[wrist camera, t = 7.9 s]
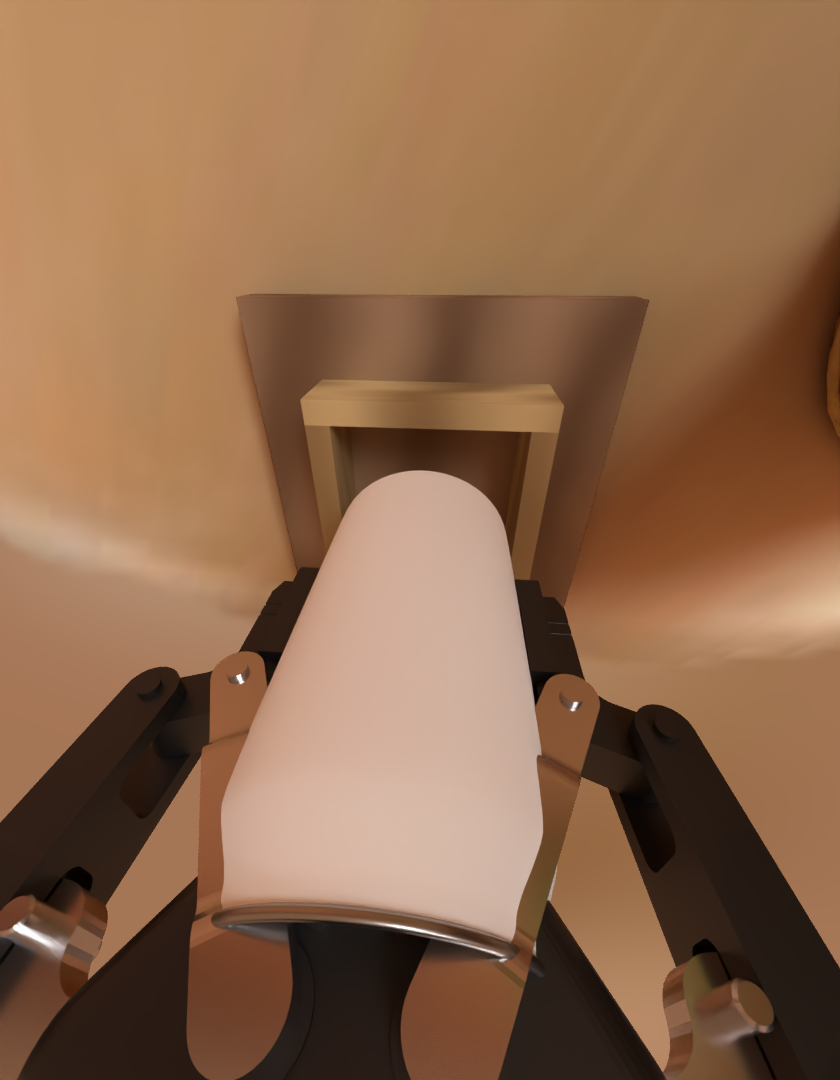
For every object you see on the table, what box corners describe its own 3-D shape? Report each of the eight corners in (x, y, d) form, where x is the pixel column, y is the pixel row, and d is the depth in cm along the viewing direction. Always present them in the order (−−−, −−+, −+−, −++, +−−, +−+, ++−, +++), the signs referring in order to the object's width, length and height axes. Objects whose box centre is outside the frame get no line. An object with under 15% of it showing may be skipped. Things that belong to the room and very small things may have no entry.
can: (356, 599, 18) (240, 991, 9) (328, 467, 15) (70, 888, 5) (502, 599, 18) (555, 1025, 8) (510, 461, 14) (627, 937, 4)
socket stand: (635, 296, 16) (684, 308, 13) (558, 592, 26) (574, 648, 22) (251, 293, 18) (196, 304, 14) (309, 578, 27) (285, 629, 23)
